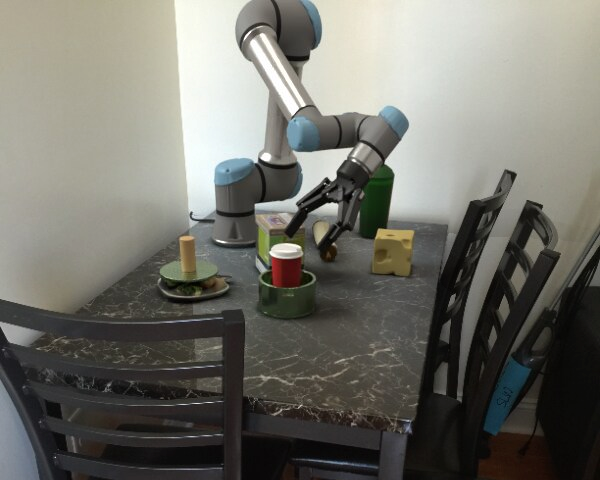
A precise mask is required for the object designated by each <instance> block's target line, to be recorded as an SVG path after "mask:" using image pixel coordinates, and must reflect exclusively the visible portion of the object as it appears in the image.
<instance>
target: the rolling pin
mask: <svg viewBox="0 0 600 480" xmlns="http://www.w3.org/2000/svg"><path fill="white" fill-rule="evenodd" d="M311 229H312V230H311V231H312V233H313V237H314V241H315V243H316V246H317V245H318V243H319V242H320V241H321V239H322V238H323V237H324V235H325V234H326V233H327V231H328V230H329V229H330V223H329V222H327V221H324V220H316V221H314V223H313V224H312V227H311ZM337 249H339V248H338V246H337V244H336V242H334V243H333V244H332V245H331V247H330V248H329V249H328V251H327V252H326V253H325V255H323V254H322V253H321V252H320V251H319V257H320V259H321V260H322V261H324V262H332V261H334V260H335V259H336V258H337V255H338V250H337Z"/></svg>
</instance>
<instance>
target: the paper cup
mask: <svg viewBox="0 0 600 480" xmlns="http://www.w3.org/2000/svg"><path fill="white" fill-rule="evenodd" d="M269 253H270V255H271V257H272V273H273V286H277V287H298V286H299V285H300V274H301V260H302V255H303V252H302V249H301V247H300V246H299V245H296V244H289V243H283V244H277V245H274V246H273V247H272V248H271V251H270V252H269Z"/></svg>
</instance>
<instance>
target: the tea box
mask: <svg viewBox="0 0 600 480" xmlns="http://www.w3.org/2000/svg"><path fill="white" fill-rule="evenodd" d="M293 216H294V215H293V214H292V213H291V212H278V213H260V214H257V213H256V214H255V217H256V222H255V223H256V245H255V267H256V269H257V270H258V271H259V272H260V274H261V273H263V272H265V271H268V270H271V269H272V257H271V255H270V253H269V252H270V251H271V248H272V247H273V246H274V245H277V244H283V243H289V244H296V245H299V246H300V247H301V249H302V252H303V255H302V260H301V270H305V258H306V257H305V254H306V253H305V251H306V226H305V225H304V223H303V224H302V225H301V227H300V228H299V229H298V231H297V232H296V233H295V235H294V236H293V237H292V239H290V238H289V237H288V236H287V235H286V234H285V233H284V232H283V231H284V229H285V228H286V227H287V225H288V224H289V223H290V221H291V219H292V218H293Z"/></svg>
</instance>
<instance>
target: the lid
mask: <svg viewBox="0 0 600 480" xmlns="http://www.w3.org/2000/svg"><path fill="white" fill-rule="evenodd" d="M178 239H179V251H180V252H179V253H180V260H178V261H172V262H169V263H167V264H165V265H163V266H161V268H160V269H159V275H160V277H161V276H162V277H163V278H165V279H167V280H171V281H176V282H197V281H203V280H207V279H210V278H212V277H214V276H215V275H217V274H219V267H218V266H217V265H216V264H214V263H212V262H208V261H206V260H197V257H196V245H195V244H196V241H195V237H194V236H192V235H184V236H180V237H179V238H178Z"/></svg>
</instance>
